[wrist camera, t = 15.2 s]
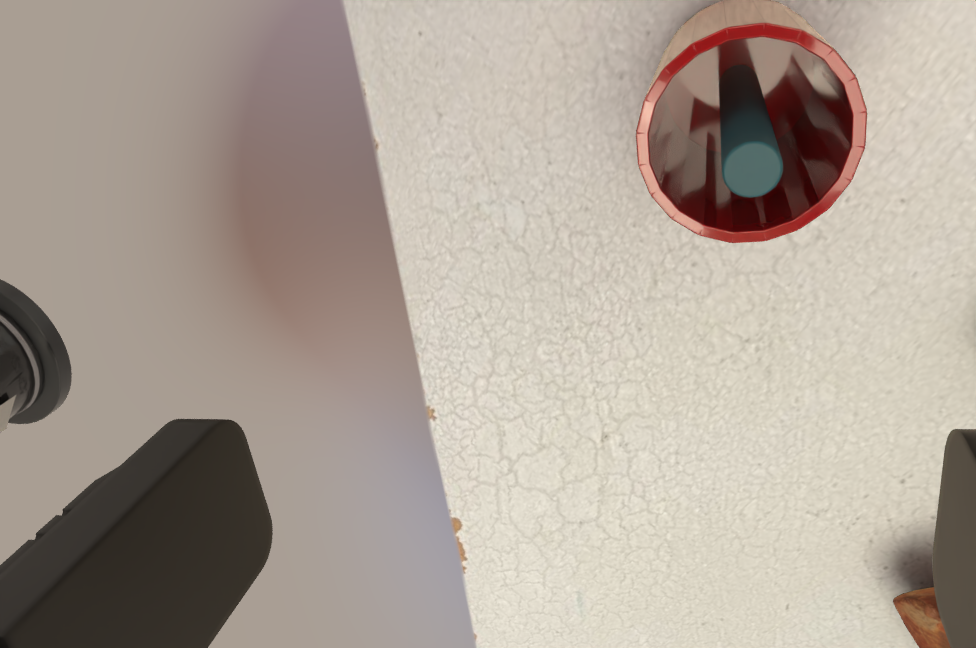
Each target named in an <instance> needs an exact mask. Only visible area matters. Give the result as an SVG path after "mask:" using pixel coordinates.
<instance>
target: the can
mask: <svg viewBox="0 0 976 648" xmlns="http://www.w3.org/2000/svg"><path fill="white" fill-rule="evenodd" d="M735 65H746V66H748V67H750V68H752V69H753V70H754V71H755V73H756V75H757V77H758V80H759V84H760V87H761V90H762V94H763V97H764V100H765V104H766V107H767V110H768V114H769V117H770V120H771V124H772V127H773V130H774V134H775V137H776V140H777V144H778V147H779V150H780V154H781V157H782V161H783V173H782V176H781V179H780V181H779V182H778V184H777V185H776V186H775V187H774V188H773V189H772V190H771V191H769V192H768V193H766V194H764V195H762V196H758V197H753V198H748V197H742V196H739V195H737V194H735V193H733V192H732V191H731V190H730V189H729V188H728V187H727V186H726V184H725V183H724V180H723V177H722V163H721V133H720V103H719V81H720V78H721V76H722V75H723V73H724V72H725V71H726V70H727V69H729V68H730V67H732V66H735ZM866 124H867V109H866V106H865V102H864V99H863V96H862V93H861V90H860V86H859V83H858V80H857V78H856V75H855V74H854V73H853V72H852V70H851V69H850V68H849V67H848V65H847V64H846V63H845V61H844V60H843V59H842V58H841V56H840V55H839V54H838V53H837V51H836V50H835V49H834V48H833V47H832V46H831V45H830V44H829V43H828V42H827V41H826V40H825V39H824V38H823V37H822V36H821V35H820V34H819V33H818V32H817V31H816V30H815V29H813V28H812V27H811V26H810V25H809V24H808V23H807V22H806V21H805V20H804V19H803V18H802V17H801V16H800V15H799V14H797V13H796V12H794V11H792V10H791V9H790V8H788V7H786V6H784V5H782V4H781V3H779V2H776V1H772V0H723V1H720V2H717V3H714V4H712V5H710V6H708V7H706V8H704V9H703V10H701V11H699V12H698V13H696V14H695V15H694V16H693V17H691V18H690V19H689V20H688V21H687V22H685V24H684V25H683V26H682V27H681V28H680V29H679V30H678V31H677V32H676V33H675V35H674V37H673V38H672V39H671V41H670V43H669V45H668V46H667V48H666V50H665V51H664V53H663V55H662V58H661V60H660V63H659V65H658V67H657V70H656V72H655V75H654V77H653V80H652V82H651V84H650V87H649V89H648V92H647V94H646V97H645V99H644V102H643V106H642V110H641V114H640V118H639V122H638V126H637V130H636V143H637V157H638V165H639V169H640V171H641V174H642V176H643V178H644V181H645V183H646V186H647V188H648V191H649V193H650V194H651V196H652V197H653V199H654V200H655V201H656V202H657V203H658V204H659V205H660V207H661V208H662V209H663V210H664V211H665V212H666V213H667V215H668V216H669V217H670V218H672V220H674V221H676V222H677V223H679V224H681V225H682V226H684V227H686V228H687V229H689V230H691V231H692V232H694V233H696V234H698V235H700V236H704V237H708V238H712V239H717V240H721V241H725V242H729V243H741V242H760V241H768V240H770V239H773V238H776V237H779V236H782V235H785V234H788V233H791V232H794V231H797V230H798V229H801V228H802V227H804V226H805V225H807V224H808V223H810V222H811V221H812V220H814V219H815V218H817V217H818V216H820V215H821V214H823V213H824V212H825V211H827V210H828V209H829V208H830V207H831V206H832V205H833V203H834V202H835V201H836V200H837V198H838V197H839V196H840V195H841V194H842V192H843V191H844V190H845V189H846V187H847V186H848V185H849V184H850V182H851V180H852V179H853V177H854V174H855V172H856V169H857V167H858V164H859V162H860V159H861V156H862V154H863V151H864V149H865V143H866Z"/></svg>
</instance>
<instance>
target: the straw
mask: <svg viewBox="0 0 976 648" xmlns="http://www.w3.org/2000/svg"><path fill="white" fill-rule="evenodd" d="M719 103H720V133H721V163H722V177H723V180H724V183H725V184H726V186H727V187H728V188H729V189H730V190H731V191H732V192H733V193H735V194H737V195H739V196H742V197H748V198H753V197H758V196H762V195H764V194H766V193H768V192H769V191H771V190H772V189H773V188H774V187H775V186H776V185H777V184H778V182H779V181H780V179H781V176H782V173H783V161H782V157H781V154H780V150H779V147H778V144H777V140H776V137H775V134H774V130H773V127H772V124H771V120H770V117H769V114H768V110H767V107H766V104H765V100H764V97H763V94H762V90H761V87H760V84H759V80H758V77H757V75H756V73H755V71H754V70H753V69H752V68H750V67H748V66H746V65H735V66H732V67H730V68H729V69H727V70H726V71H725V72H724V73H723V75H722V76H721V78H720V81H719Z"/></svg>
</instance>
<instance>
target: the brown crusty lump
mask: <svg viewBox="0 0 976 648" xmlns="http://www.w3.org/2000/svg"><path fill="white" fill-rule="evenodd" d="M893 603H894V605H895V607H896V609H897V611H898V612H899V614H900V616H901V618H902V620H903V622H904V624H905V626H906V627H907V629H908V631H909V632H910V634H911V635H912V637H913V639H914V640H915V642H916V643H917V645H918V646H919V648H951V647H950V644H949V641H948V639H947V636H946V633H945V630H944V627H943V624H942V621H941V618H940V615H939V611H938V607H937V602H936V597H935V591H934V587H931V588H925V589H919V590H915V591H911V592H907V593H903V594H901V595H899V596H897V597H896V598H894V599H893Z"/></svg>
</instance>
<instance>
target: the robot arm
mask: <svg viewBox="0 0 976 648" xmlns="http://www.w3.org/2000/svg"><path fill="white" fill-rule="evenodd" d="M43 387H44V370H43V365H42V362H41V359H40V356H39V354H38V352H37V349H36V347H35V346H34V344H33V342H32V341H31V339H30V338H29V336H28V335H27V334H26V332H25V331H24V330H23V329H22V327H21V326H20V325H19V324H18V323H17V322H16V321H15V320H14V319H13V318H12V317H10V316H9V315H8V314H7V313H6V312H4V311H3V310H1V309H0V433H1V432H2V431H4V430H5V429H6V428H7V424H8V421H9V419H10V418H11V417H13V416H14V415H16V414H18V413H20V412H22V411H24V410H26V409H27V408H28V407H30V406H31V405H33V404H34V403H35V402H36V401H37V400H38V399H39V397H40V395H41V393H42V391H43ZM271 543H272V520H271V516H270V513H269V509H268V506H267V503H266V500H265V497H264V494H263V491H262V487H261V484H260V481H259V478H258V474H257V471H256V468H255V465H254V462H253V459H252V455H251V452H250V449H249V446H248V442H247V439H246V437H245V434H244V432H243V430H242V428H241V427H240V426H239V425H238V424H237V423H236V422H234V421H232V420H218V419H176V420H173V421H170V422H169V423H167V424H166V425H165V426H164V427H162V428H161V429H160V430H159V431H158V432H157V433H156V434H155V435H154V436H152V437H151V438H150V439H149V440H148V441H147V442H146V443H145V444H144V445H143V446H142V447H141V448H139V449H138V450H137V451H136V452H135V453H134V454H133V455H132V456H130V457H129V458H128V459H127V460H126V461H125V462H124V463H123V464H122V465H121V466H119V467H118V468H116V469H114V470H113V471H111V472H109V473H107V474H106V475H104V476H102V477H101V478H99V479H97V480H95V481H94V482H93V483H92V484H91V485H90V486H88V487H87V488H86V489H85V490H84V491H83V492H82V493H81V494H79V495H78V496H77V497H76V498H75V499H74V500H73V501H72V502H71V503H69V504H68V505H67V506H66V507H65V508H64V509H63V514H62V516H59V515H56V516H55V517H54V518H53V519H52V520H51V521H49V522H48V523H47V524H46V525H45V526H44V527H43V528H42V529H40V530H39V531H38V532H37V533H36V539H35V540H28V541H27V542H26V543H25V544H24V545H22V546H21V547H20V548H19V549H18V550H17V551H16V552H15V553H14V554H13V555H12V556H10V557H9V558H8V559H7V560H6V561H5V562H3V564H1V565H0V648H208V646H209V645H210V644H211V642H212V641H213V639H214V638H215V636H216V635H217V634H218V632H219V631H220V629H221V628H222V626H223V625H224V623H225V622H226V620H227V619H228V617H229V616H230V615H231V613H232V612H233V611H234V609H235V608H236V606H237V605H238V603H239V602H240V601H241V599H242V598H243V596H244V595H245V593H246V592H247V590H248V589H249V588H250V586H251V584H252V583H253V582H254V580H255V579H256V578H257V576H258V574H259V573H260V572H261V570H262V569H263V567H264V565H265V563H266V561H267V559H268V555H269V553H270V548H271ZM932 564H933V582H934V591H935V597H936V602H937V607H938V611H939V615H940V618H941V621H942V624H943V627H944V630H945V633H946V636H947V639H948V641H949V644H950V647H951V648H976V429H954V430H952V431H951V432H950V434H949V436H948V438H947V442H946V446H945V452H944V461H943V469H942V478H941V486H940V495H939V504H938V512H937V521H936V529H935V538H934V547H933V563H932Z"/></svg>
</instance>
